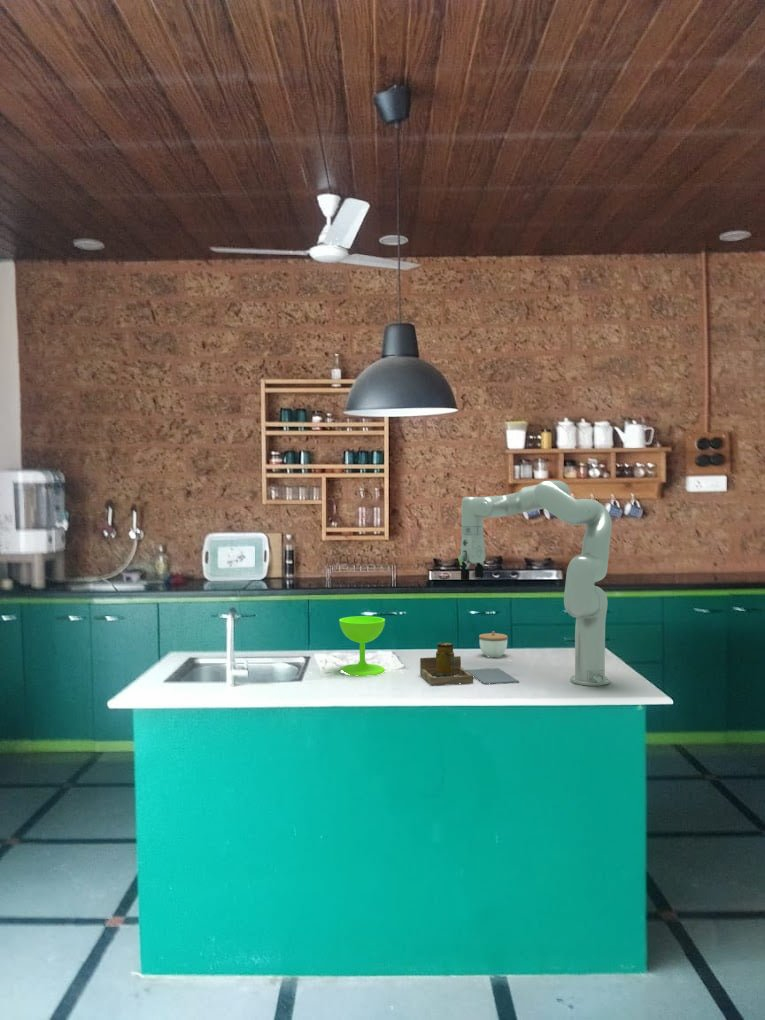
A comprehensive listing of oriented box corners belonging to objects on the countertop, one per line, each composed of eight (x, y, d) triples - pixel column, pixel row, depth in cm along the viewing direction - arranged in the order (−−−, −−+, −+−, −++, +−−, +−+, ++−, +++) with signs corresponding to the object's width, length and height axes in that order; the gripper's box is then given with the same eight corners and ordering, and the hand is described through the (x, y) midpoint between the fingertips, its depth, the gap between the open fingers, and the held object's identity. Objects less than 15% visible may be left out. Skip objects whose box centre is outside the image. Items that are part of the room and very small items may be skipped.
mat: (518, 682, 277) (518, 681, 277) (483, 684, 275) (483, 682, 275) (498, 669, 297) (498, 668, 297) (465, 671, 294) (465, 669, 294)
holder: (473, 683, 276) (473, 665, 276) (431, 685, 273) (431, 667, 273) (459, 673, 291) (459, 656, 291) (420, 675, 288) (420, 657, 288)
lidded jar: (500, 652, 327) (500, 628, 327) (512, 658, 317) (512, 633, 316) (474, 654, 324) (474, 629, 324) (485, 659, 314) (485, 634, 314)
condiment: (445, 676, 287) (445, 641, 287) (463, 680, 281) (463, 644, 280) (429, 679, 282) (429, 643, 282) (447, 684, 276) (447, 647, 276)
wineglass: (377, 677, 285) (377, 624, 285) (332, 674, 290) (332, 622, 289) (390, 667, 300) (390, 617, 300) (348, 665, 305) (348, 615, 305)
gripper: (468, 532, 294) (468, 581, 295) (493, 530, 308) (493, 577, 309) (450, 532, 299) (450, 580, 300) (475, 529, 313) (475, 576, 313)
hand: (472, 578), depth 304 cm, fingers open, 9 cm apart
